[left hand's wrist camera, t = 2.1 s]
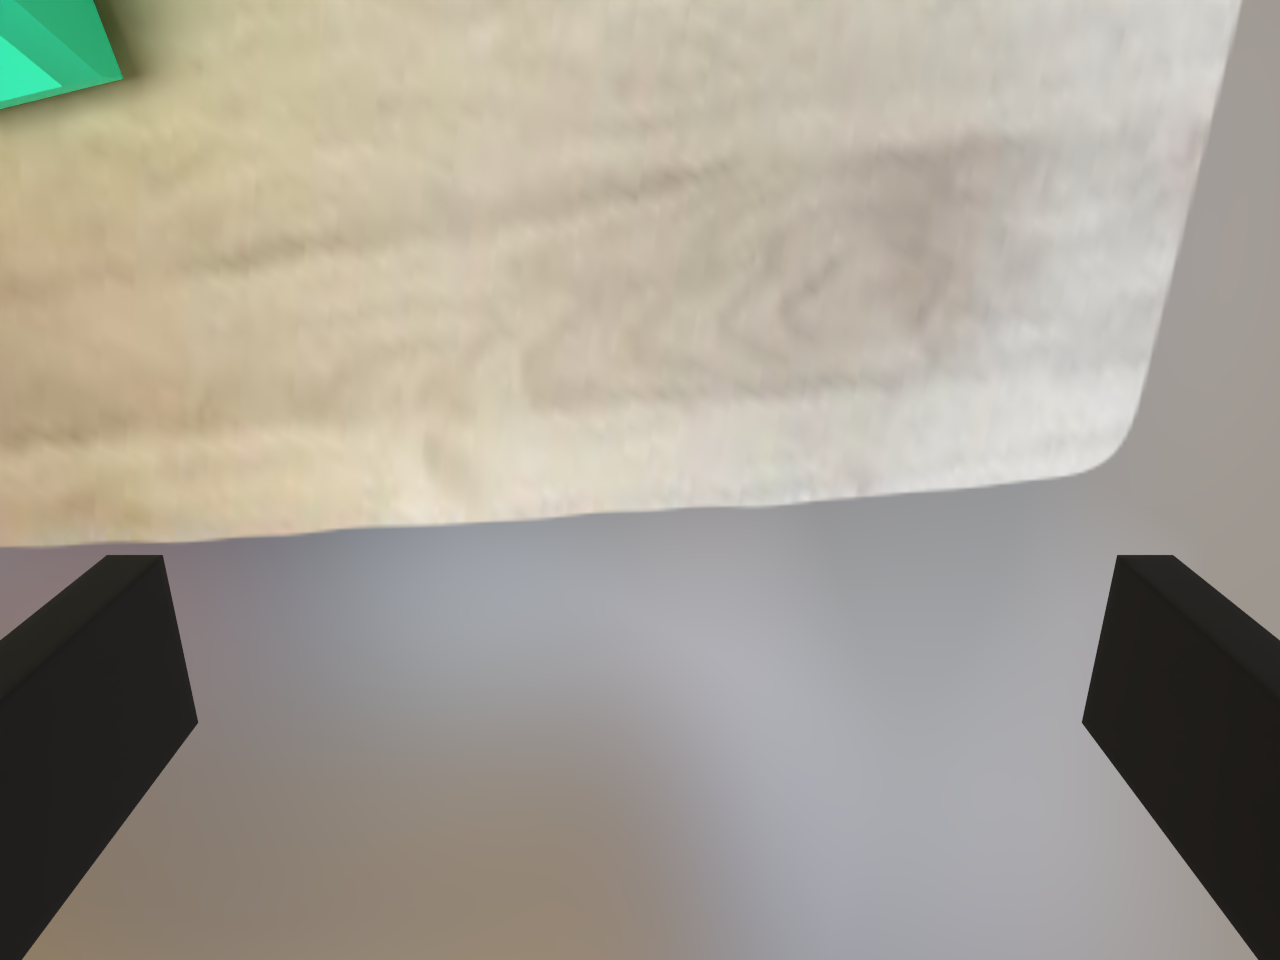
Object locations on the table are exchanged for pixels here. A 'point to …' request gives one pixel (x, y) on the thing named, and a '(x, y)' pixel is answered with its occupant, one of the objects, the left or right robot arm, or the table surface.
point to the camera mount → (52, 49)
